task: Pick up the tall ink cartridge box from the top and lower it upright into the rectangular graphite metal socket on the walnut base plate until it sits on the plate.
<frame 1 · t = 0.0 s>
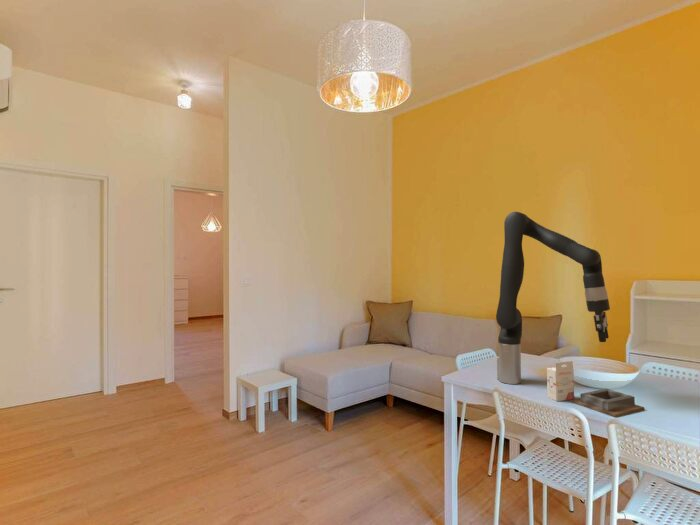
hand: (604, 340, 155), 22 cm above the table, tool pointing down, fingers open, 8 cm apart
ink cartridge box: (560, 398, 154), on the table
socket plate: (607, 406, 145), on the table
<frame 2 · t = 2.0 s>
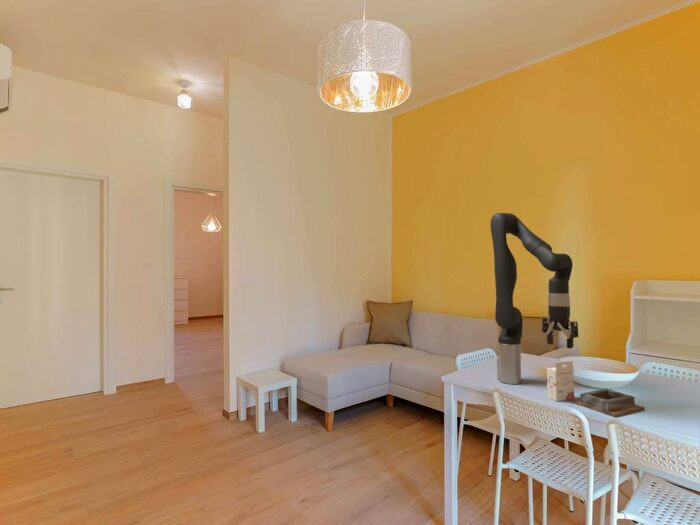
hand: (559, 346, 155), 20 cm above the table, tool pointing down, fingers open, 8 cm apart
nothing on the table moved.
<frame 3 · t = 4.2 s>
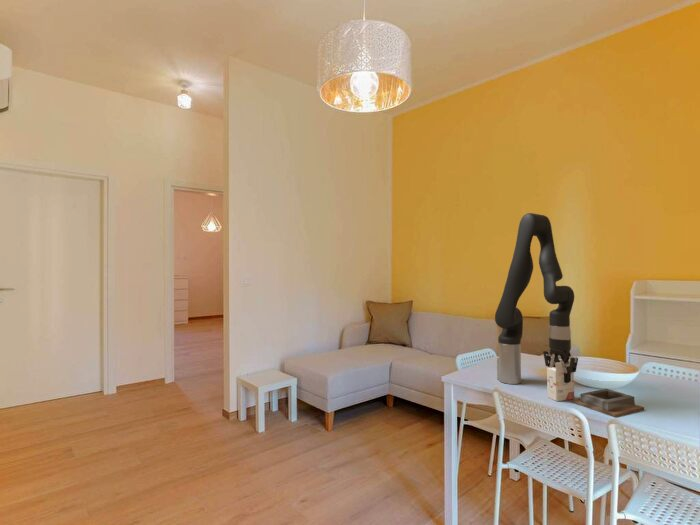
hand: (560, 380, 154), 7 cm above the table, tool pointing down, fingers closed on ink cartridge box, 5 cm apart
ink cartridge box: (560, 398, 154), on the table, touching gripper
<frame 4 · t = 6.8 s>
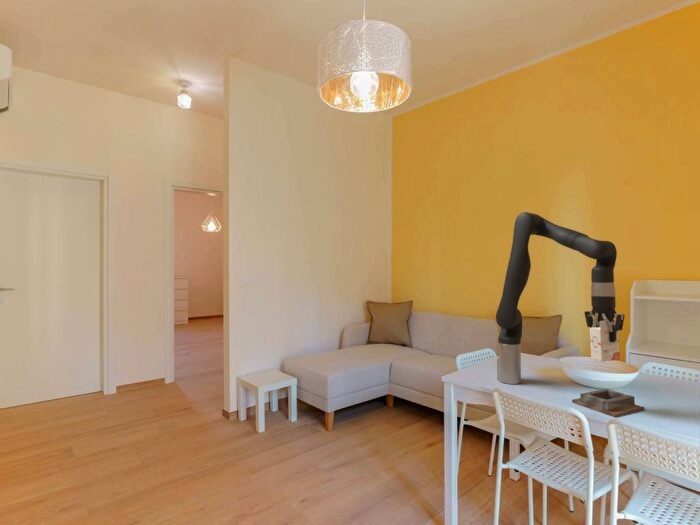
hand: (604, 340, 146), 24 cm above the table, tool pointing down, fingers closed on ink cartridge box, 5 cm apart
ink cartridge box: (605, 360, 146), point 17 cm above the table, touching gripper
when the fingers open (9 cm above the table, at t = 9.8 s): ink cartridge box drops 1 cm, resting on socket plate.
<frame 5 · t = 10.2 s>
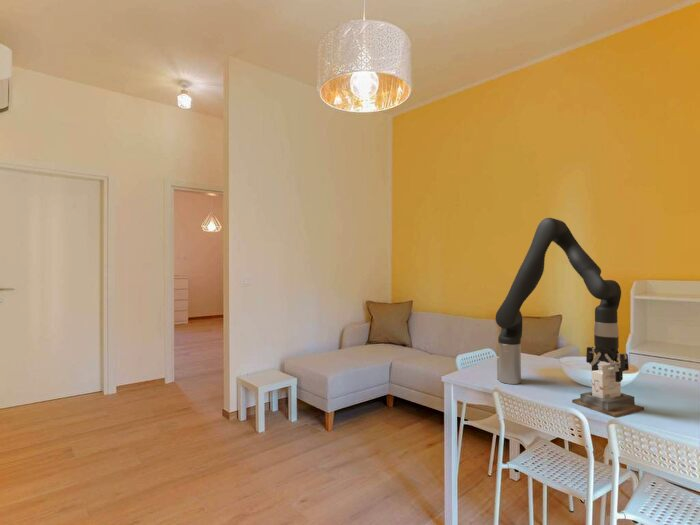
hand: (606, 378, 146), 10 cm above the table, tool pointing down, fingers open, 8 cm apart
ink cartridge box: (606, 403, 146), point 1 cm above the table, touching socket plate
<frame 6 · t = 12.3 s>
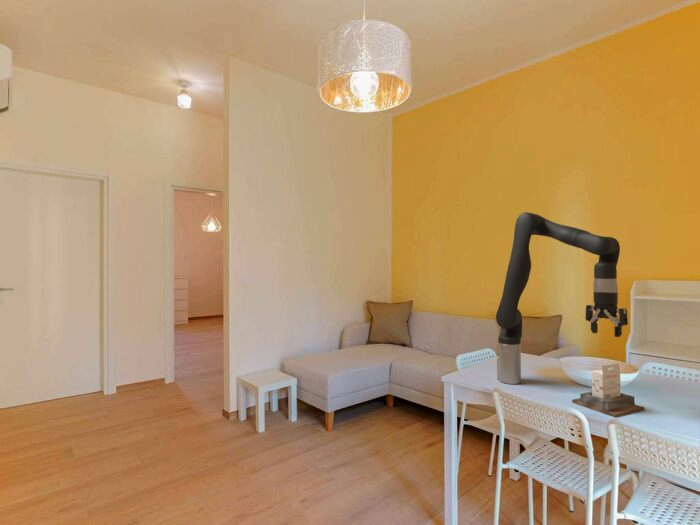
hand: (605, 334, 146), 26 cm above the table, tool pointing down, fingers open, 8 cm apart
nothing on the table moved.
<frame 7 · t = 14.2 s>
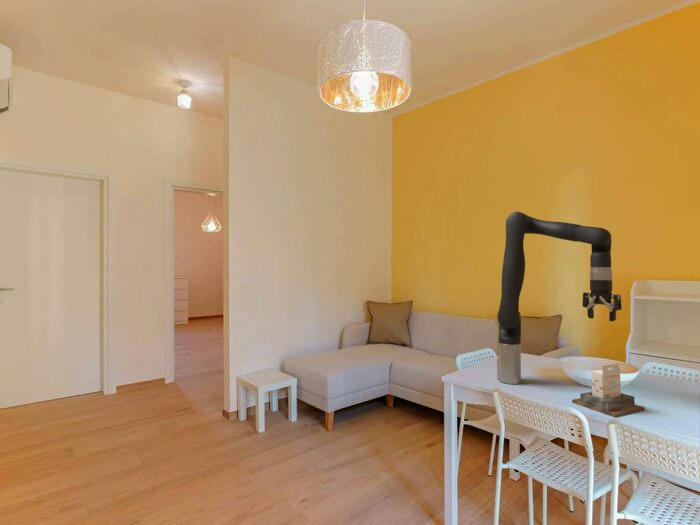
hand: (601, 319, 156), 30 cm above the table, tool pointing down, fingers open, 8 cm apart
nothing on the table moved.
at the end: ink cartridge box 0.3 cm off-centre on the socket plate, point 0.8 cm above the socket plate's base; ink cartridge box tilted 0°; the gripper is holding nothing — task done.
